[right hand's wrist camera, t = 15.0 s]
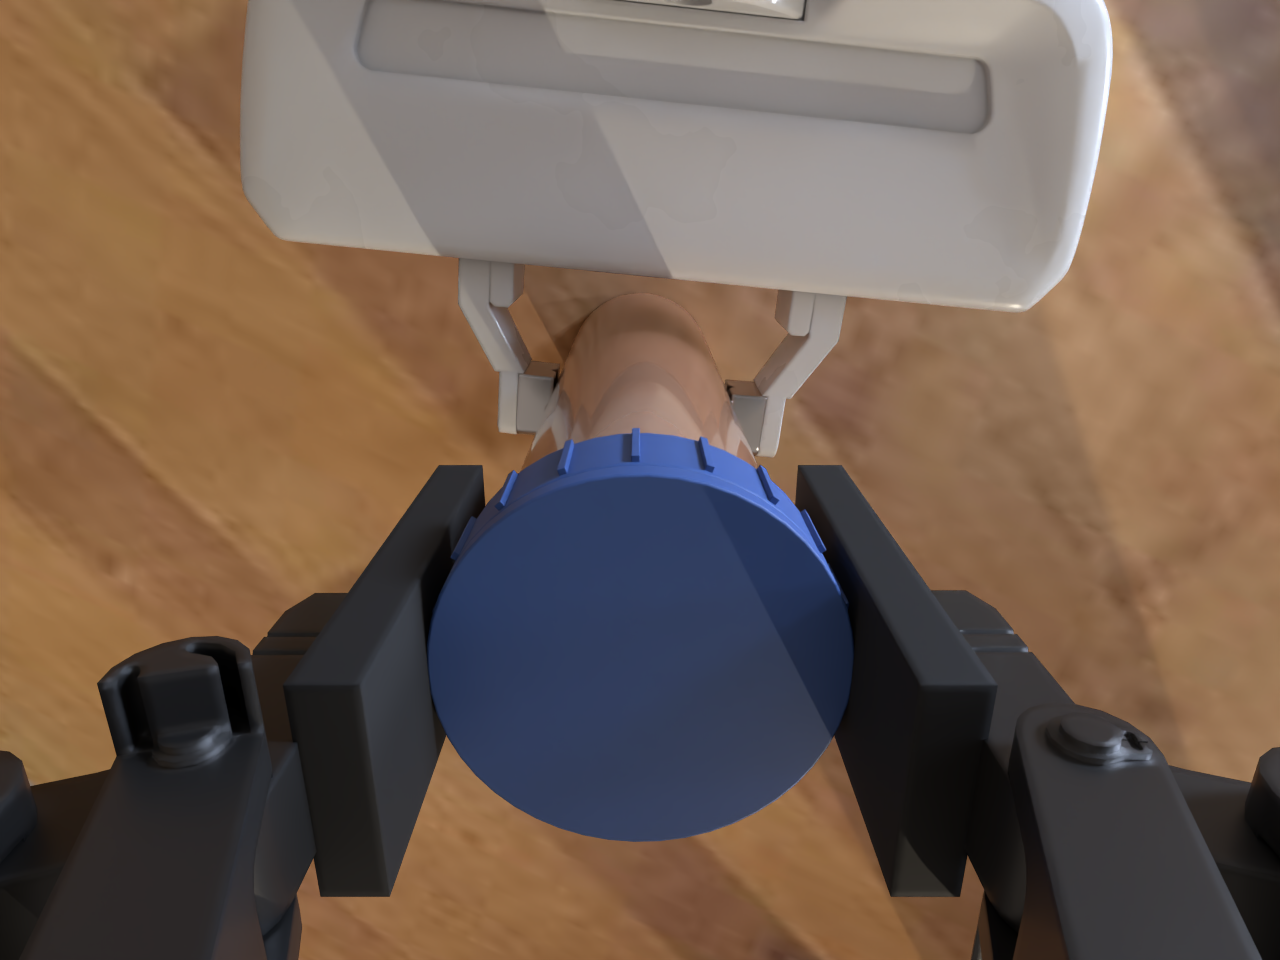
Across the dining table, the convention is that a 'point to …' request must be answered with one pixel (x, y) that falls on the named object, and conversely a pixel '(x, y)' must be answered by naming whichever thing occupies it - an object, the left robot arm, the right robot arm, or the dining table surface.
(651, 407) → the jar
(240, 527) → the dining table surface
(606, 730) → the lid
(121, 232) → the dining table surface
